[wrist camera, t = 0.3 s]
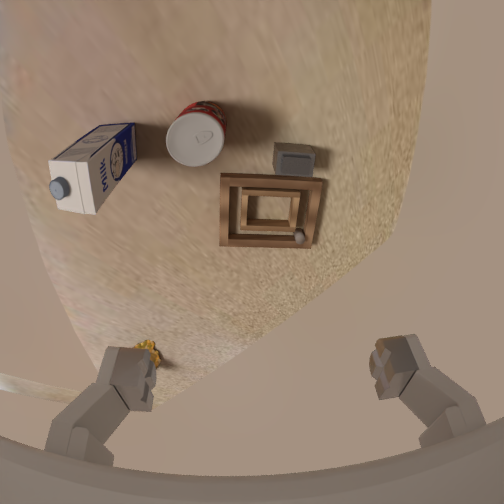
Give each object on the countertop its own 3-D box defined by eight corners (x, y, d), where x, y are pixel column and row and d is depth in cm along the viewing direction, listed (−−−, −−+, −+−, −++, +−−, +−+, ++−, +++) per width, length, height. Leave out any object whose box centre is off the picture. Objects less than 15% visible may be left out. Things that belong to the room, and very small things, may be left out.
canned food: (236, 125, 50) (236, 144, 41) (198, 153, 53) (190, 178, 44) (207, 90, 46) (199, 100, 37) (169, 120, 49) (154, 138, 40)
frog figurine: (122, 366, 88) (112, 405, 75) (135, 328, 81) (124, 370, 68) (151, 376, 91) (145, 415, 78) (168, 340, 83) (162, 382, 71)
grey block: (274, 142, 52) (278, 152, 47) (309, 144, 53) (316, 155, 48) (272, 164, 54) (276, 176, 50) (306, 166, 55) (313, 178, 50)
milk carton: (137, 160, 53) (95, 216, 36) (102, 161, 52) (51, 216, 36) (134, 121, 48) (86, 162, 32) (98, 124, 48) (40, 166, 32)
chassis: (220, 173, 55) (220, 179, 53) (320, 178, 56) (324, 184, 54) (219, 240, 63) (219, 249, 61) (308, 242, 64) (311, 251, 62)
